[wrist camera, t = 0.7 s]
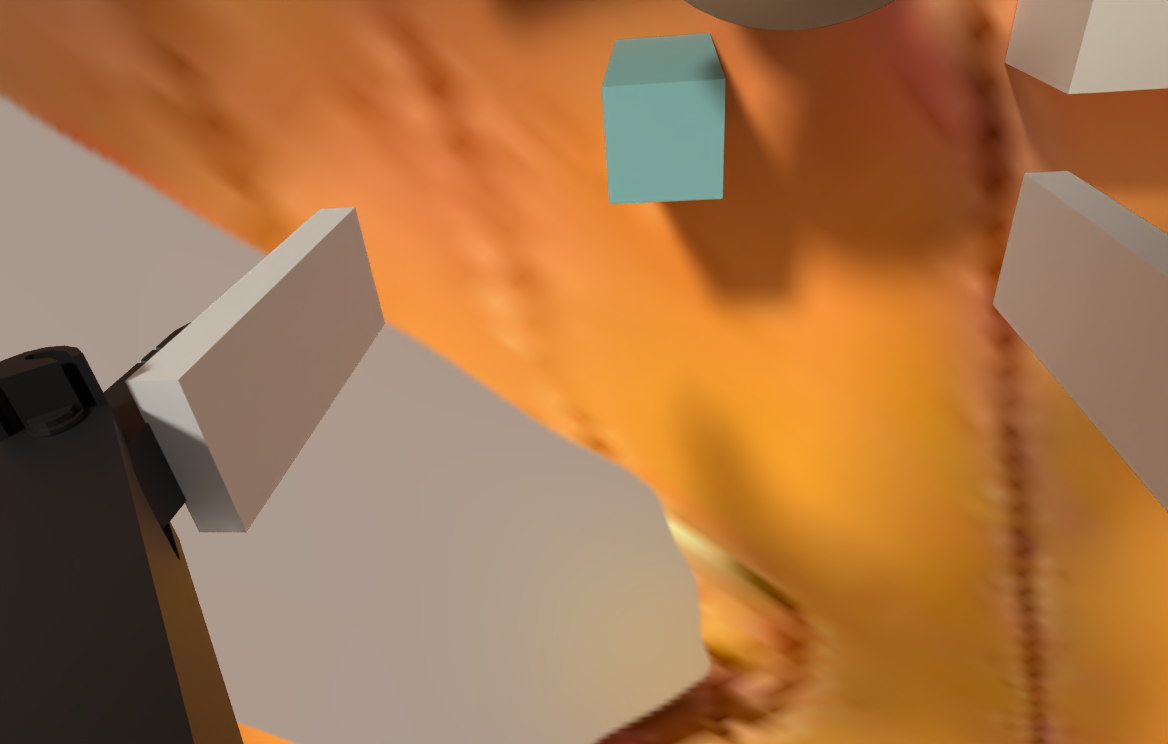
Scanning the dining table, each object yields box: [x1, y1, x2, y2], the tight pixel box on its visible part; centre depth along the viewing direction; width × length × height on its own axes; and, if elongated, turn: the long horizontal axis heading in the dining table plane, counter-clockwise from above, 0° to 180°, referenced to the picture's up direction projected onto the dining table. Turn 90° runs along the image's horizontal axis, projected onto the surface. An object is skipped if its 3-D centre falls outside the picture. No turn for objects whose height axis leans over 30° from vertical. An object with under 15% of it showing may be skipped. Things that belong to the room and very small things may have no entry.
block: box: [602, 33, 726, 204], centre depth 25 cm, size 4×4×8 cm
